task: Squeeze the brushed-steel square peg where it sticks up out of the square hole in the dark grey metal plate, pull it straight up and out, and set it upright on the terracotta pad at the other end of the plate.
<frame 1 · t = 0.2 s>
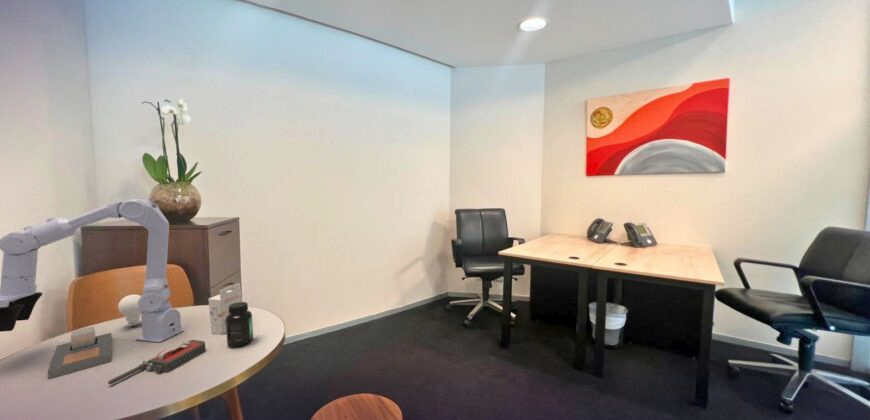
hand: (14, 325, 86), 10 cm above the table, tool pointing down, fingers open, 7 cm apart
light bulb: (133, 326, 108), on the table
hole plate: (83, 356, 89), on the table
ink cartridge box: (227, 328, 107), on the table
supplement bottle: (240, 343, 97), on the table
walkie-talkie: (164, 367, 85), on the table
square peg: (84, 351, 93), resting in hole plate
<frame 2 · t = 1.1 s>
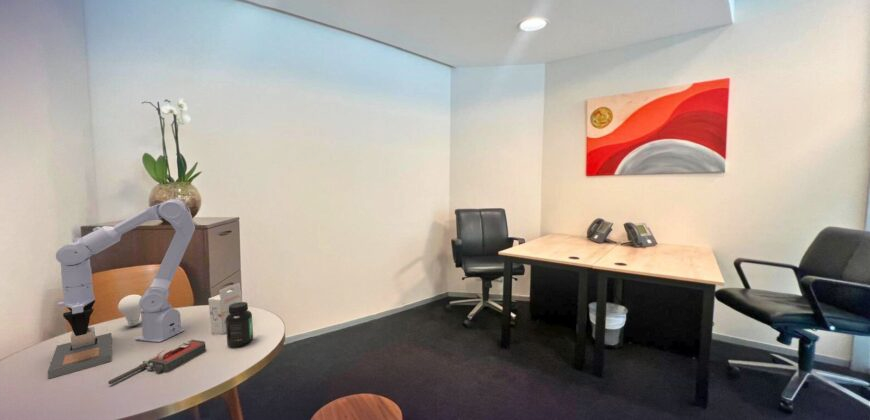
hand: (82, 330, 92), 6 cm above the table, tool pointing down, fingers open, 7 cm apart
nothing on the table moved.
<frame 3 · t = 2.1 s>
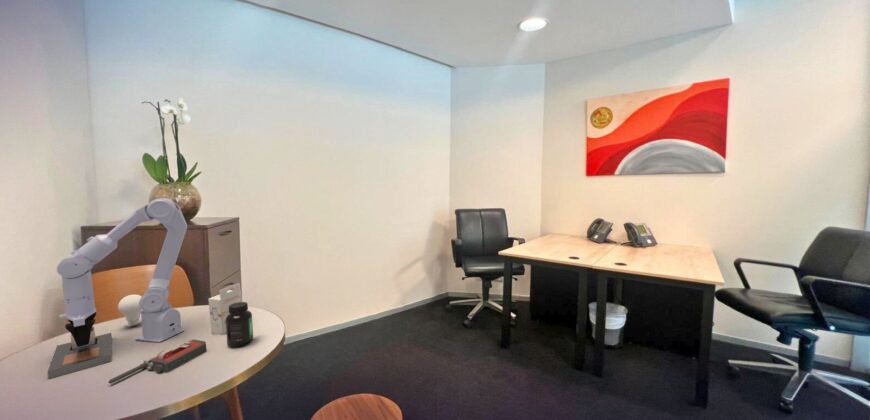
hand: (83, 342, 92), 3 cm above the table, tool pointing down, fingers closed on square peg, 4 cm apart
square peg: (84, 350, 93), resting in hole plate, touching gripper
everything else where it was.
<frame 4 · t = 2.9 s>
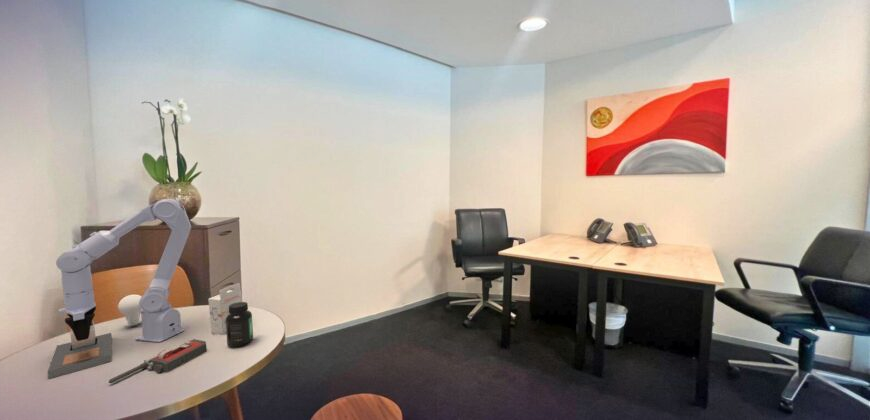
hand: (83, 336, 92), 4 cm above the table, tool pointing down, fingers closed on square peg, 4 cm apart
square peg: (84, 345, 92), point 2 cm above the table, touching gripper
everything else where it was.
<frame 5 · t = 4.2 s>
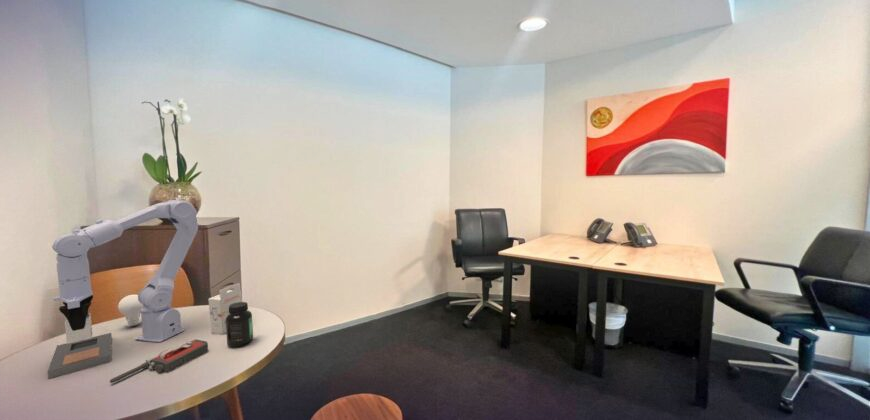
hand: (79, 326, 87), 9 cm above the table, tool pointing down, fingers closed on square peg, 4 cm apart
square peg: (80, 338, 88), point 6 cm above the table, touching gripper
everything else where it was.
when the fingers open (6 cm above the table, at t = 5.5 s): square peg stays where it is, resting on hole plate.
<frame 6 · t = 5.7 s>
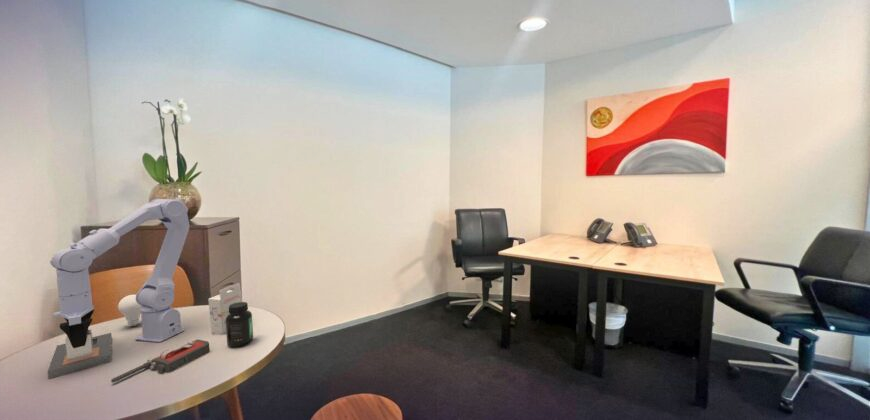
hand: (80, 342, 86), 6 cm above the table, tool pointing down, fingers open, 6 cm apart
square peg: (81, 355, 86), point 2 cm above the table, touching hole plate
everything else where it was.
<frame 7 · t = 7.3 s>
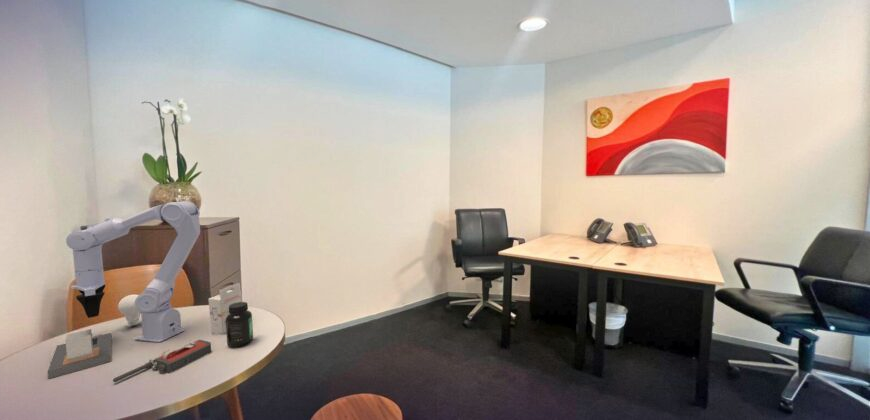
hand: (93, 313, 96), 9 cm above the table, tool pointing down, fingers open, 7 cm apart
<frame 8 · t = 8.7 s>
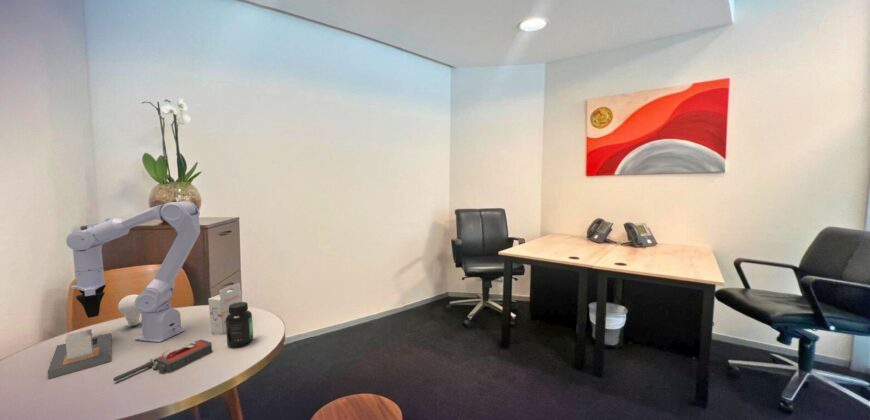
hand: (93, 312, 96), 9 cm above the table, tool pointing down, fingers open, 7 cm apart
at the end: square peg 0.1 cm from the target spot on the hole plate, point 2.1 cm above the hole plate's base; square peg tilted 0°; the gripper is holding nothing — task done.
